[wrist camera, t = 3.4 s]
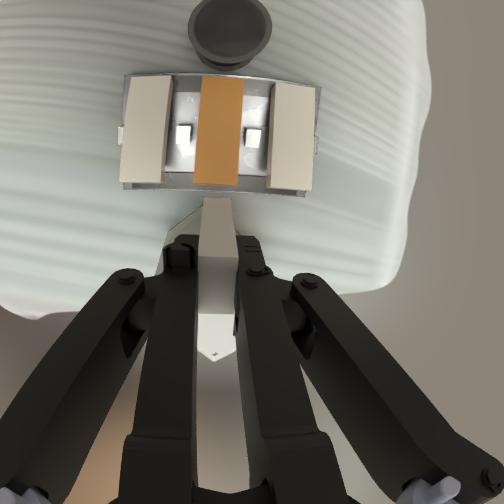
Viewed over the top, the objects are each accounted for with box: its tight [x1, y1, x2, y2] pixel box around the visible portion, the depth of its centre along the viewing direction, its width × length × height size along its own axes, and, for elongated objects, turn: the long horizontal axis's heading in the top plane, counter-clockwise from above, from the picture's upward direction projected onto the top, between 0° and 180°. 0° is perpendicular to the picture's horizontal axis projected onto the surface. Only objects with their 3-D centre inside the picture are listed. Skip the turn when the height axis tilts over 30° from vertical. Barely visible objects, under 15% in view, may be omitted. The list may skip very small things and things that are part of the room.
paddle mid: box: [193, 76, 244, 186], centre depth 23 cm, size 9×3×2 cm, turn 174°
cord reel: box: [188, 0, 272, 71], centre depth 20 cm, size 6×6×8 cm
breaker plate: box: [118, 73, 322, 197], centre depth 26 cm, size 11×18×4 cm, turn 84°
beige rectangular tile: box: [266, 82, 315, 191], centre depth 24 cm, size 9×3×2 cm, turn 174°
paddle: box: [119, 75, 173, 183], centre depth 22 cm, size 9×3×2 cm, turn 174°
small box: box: [155, 206, 241, 362], centre depth 28 cm, size 8×6×13 cm
